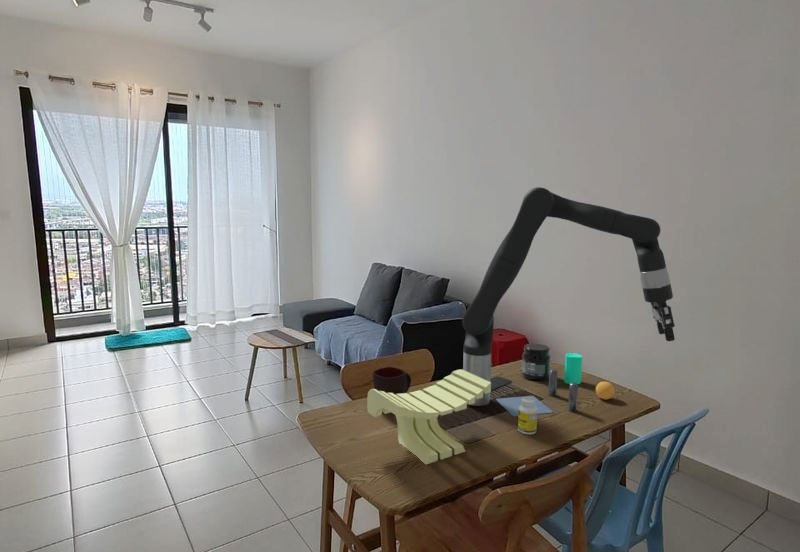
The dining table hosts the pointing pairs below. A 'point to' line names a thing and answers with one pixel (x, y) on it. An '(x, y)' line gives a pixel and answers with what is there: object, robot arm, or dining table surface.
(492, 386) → the phone
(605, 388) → the ball
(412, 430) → the slatted curved stool
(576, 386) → the near post
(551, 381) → the far post
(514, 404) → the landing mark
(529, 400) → the supplement bottle
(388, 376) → the cup
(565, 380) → the candle
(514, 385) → the dining table surface
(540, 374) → the supplement container
